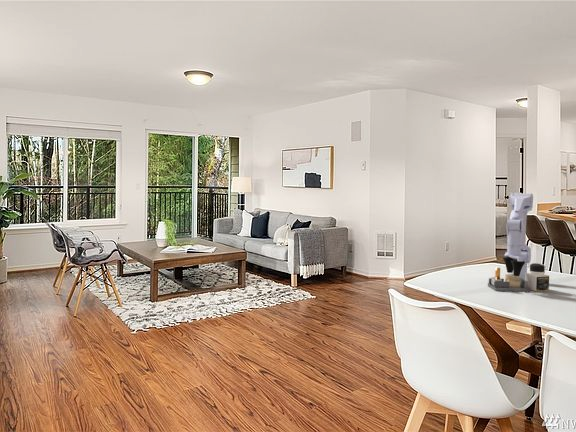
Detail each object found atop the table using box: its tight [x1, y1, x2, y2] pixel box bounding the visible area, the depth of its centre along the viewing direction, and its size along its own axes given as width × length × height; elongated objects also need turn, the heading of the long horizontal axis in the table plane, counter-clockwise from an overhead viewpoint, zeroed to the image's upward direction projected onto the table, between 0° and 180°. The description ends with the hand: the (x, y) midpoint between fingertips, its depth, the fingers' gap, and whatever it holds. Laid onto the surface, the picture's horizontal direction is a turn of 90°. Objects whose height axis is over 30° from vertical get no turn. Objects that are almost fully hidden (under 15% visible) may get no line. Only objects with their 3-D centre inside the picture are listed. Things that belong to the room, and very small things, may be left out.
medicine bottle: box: [525, 262, 550, 293], centre depth 207 cm, size 7×7×12 cm
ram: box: [490, 267, 503, 285], centre depth 209 cm, size 5×3×8 cm, turn 175°
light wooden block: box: [504, 273, 520, 287], centre depth 208 cm, size 4×5×5 cm
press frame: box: [487, 277, 530, 293], centre depth 209 cm, size 10×14×4 cm
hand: (513, 274), depth 208 cm, fingers open, 7 cm apart
